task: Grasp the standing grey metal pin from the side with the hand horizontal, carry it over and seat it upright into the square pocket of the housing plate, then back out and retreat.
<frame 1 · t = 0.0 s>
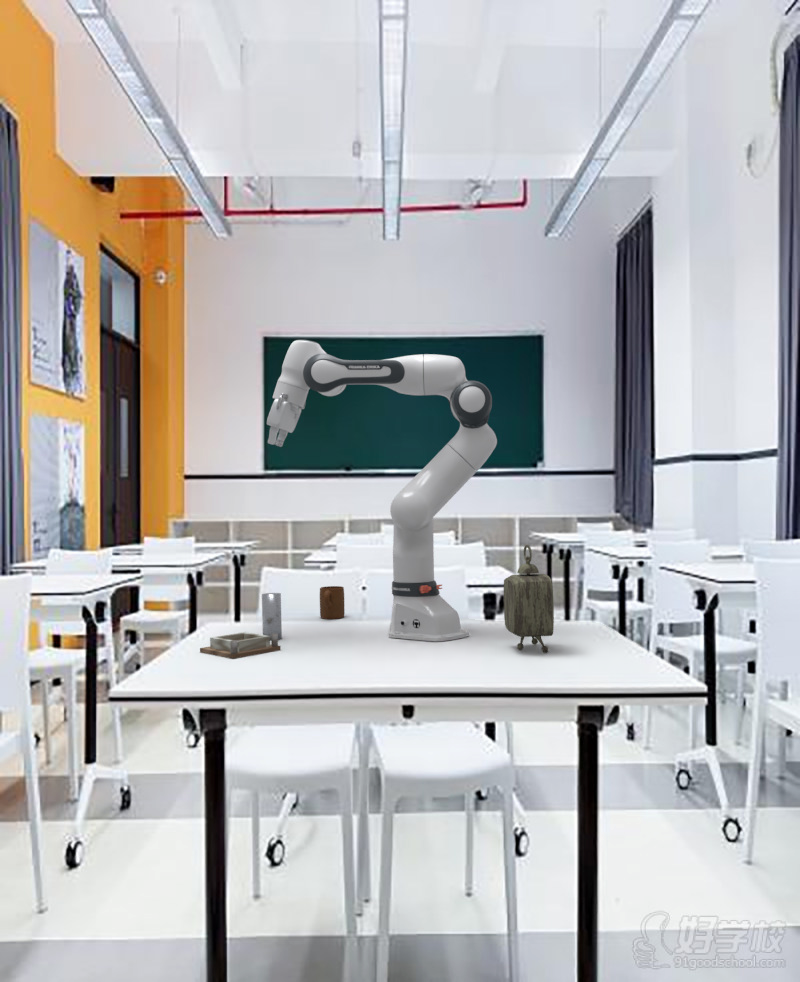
hand: (274, 445, 234), 52 cm above the table, tool tilted 20°, fingers open, 8 cm apart
mug: (330, 619, 263), on the table
pin: (272, 638, 228), on the table
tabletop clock: (528, 650, 204), on the table
housing: (240, 651, 211), on the table
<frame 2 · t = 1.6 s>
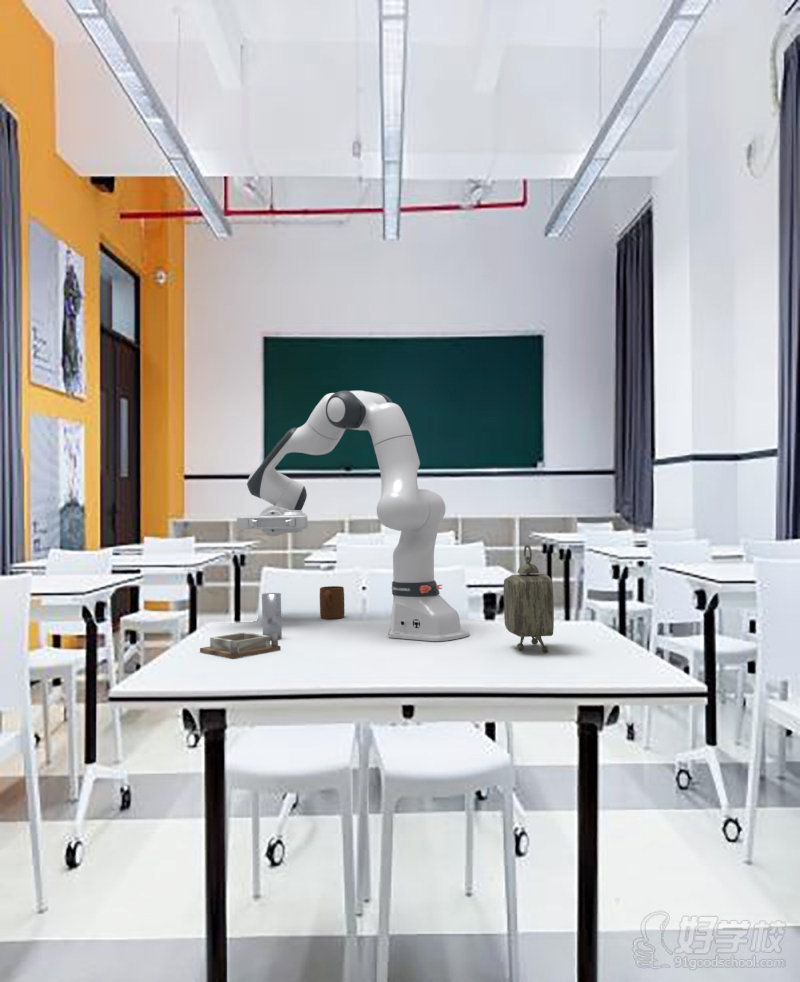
hand: (271, 523, 240), 30 cm above the table, tool horizontal, fingers open, 8 cm apart
nothing on the table moved.
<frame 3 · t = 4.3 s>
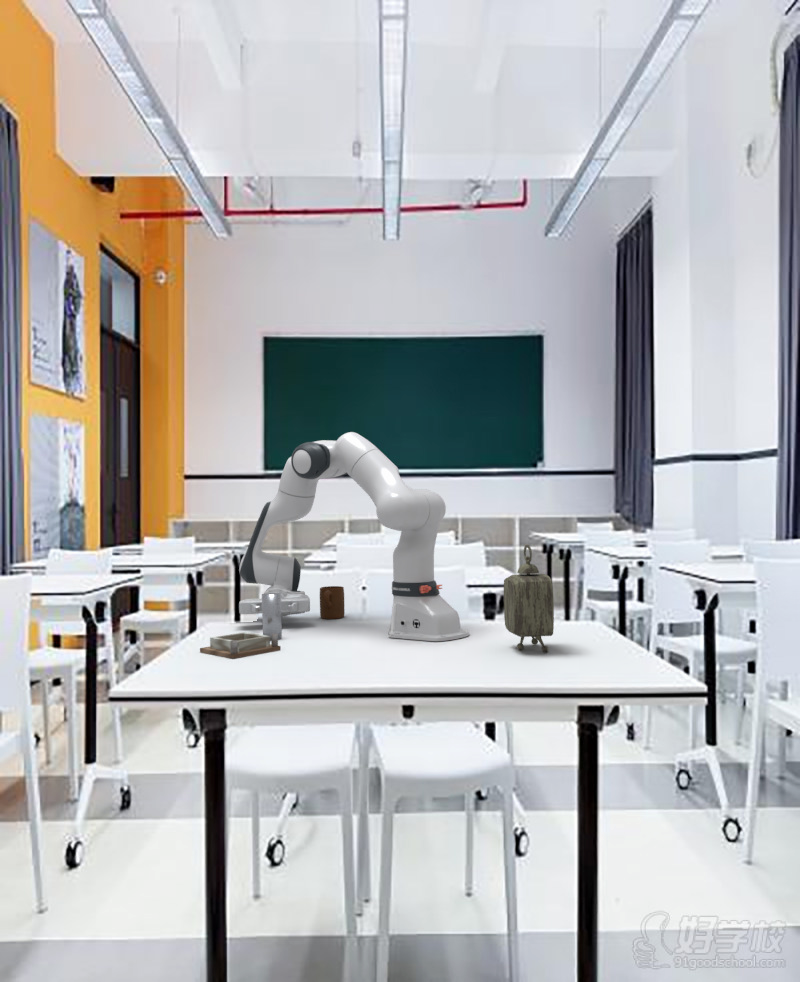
hand: (273, 608, 239), 6 cm above the table, tool horizontal, fingers open, 8 cm apart
nothing on the table moved.
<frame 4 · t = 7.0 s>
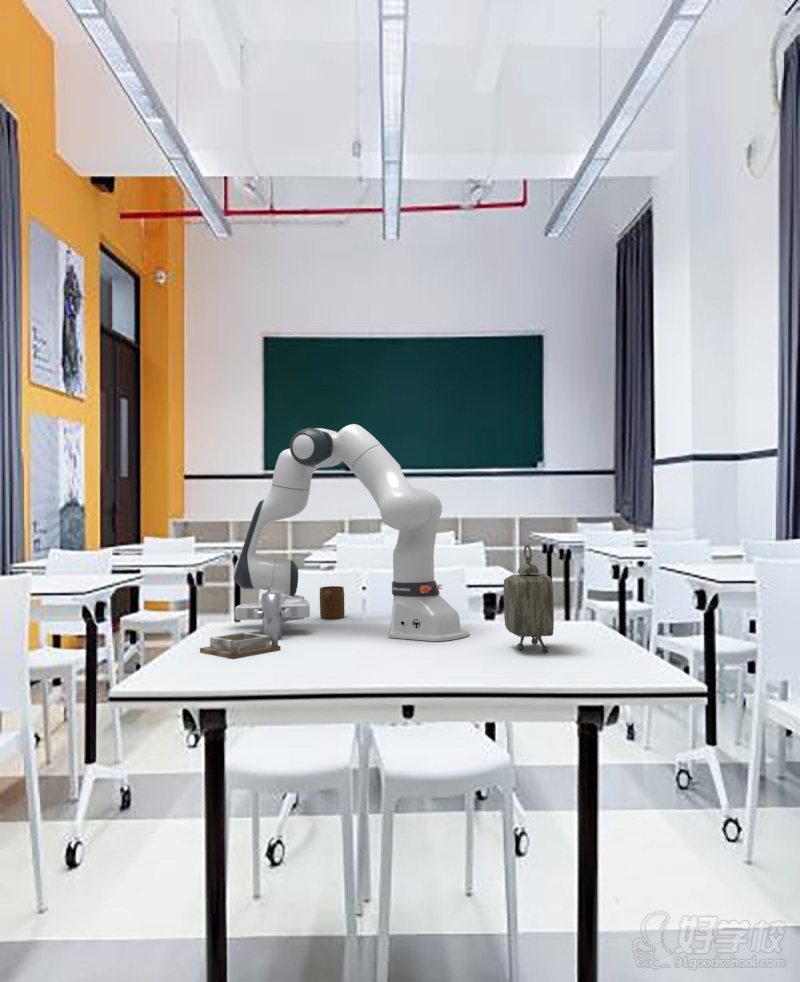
hand: (271, 614, 227), 7 cm above the table, tool horizontal, fingers closed on pin, 5 cm apart
pin: (272, 638, 228), on the table, touching gripper
everything else where it was.
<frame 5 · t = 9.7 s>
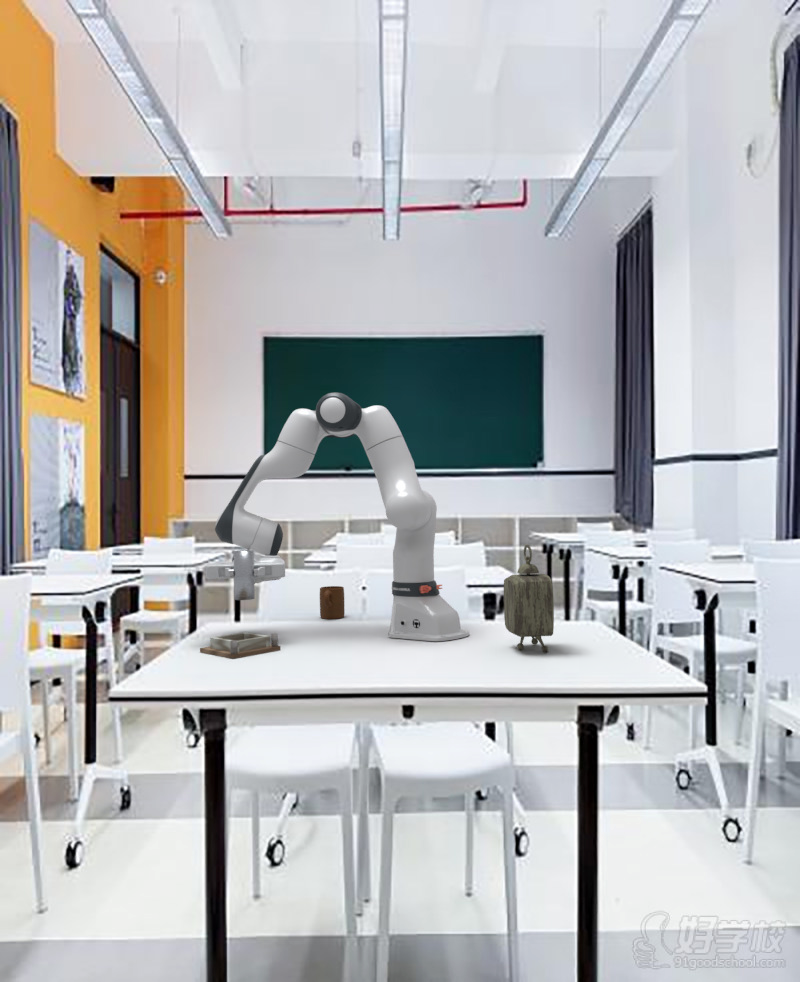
hand: (243, 573, 213), 19 cm above the table, tool horizontal, fingers closed on pin, 5 cm apart
pin: (244, 598, 214), point 12 cm above the table, touching gripper
everything else where it was.
when the fingers open (8 cm above the table, at t = 12.5 s): pin stays where it is, resting on housing.
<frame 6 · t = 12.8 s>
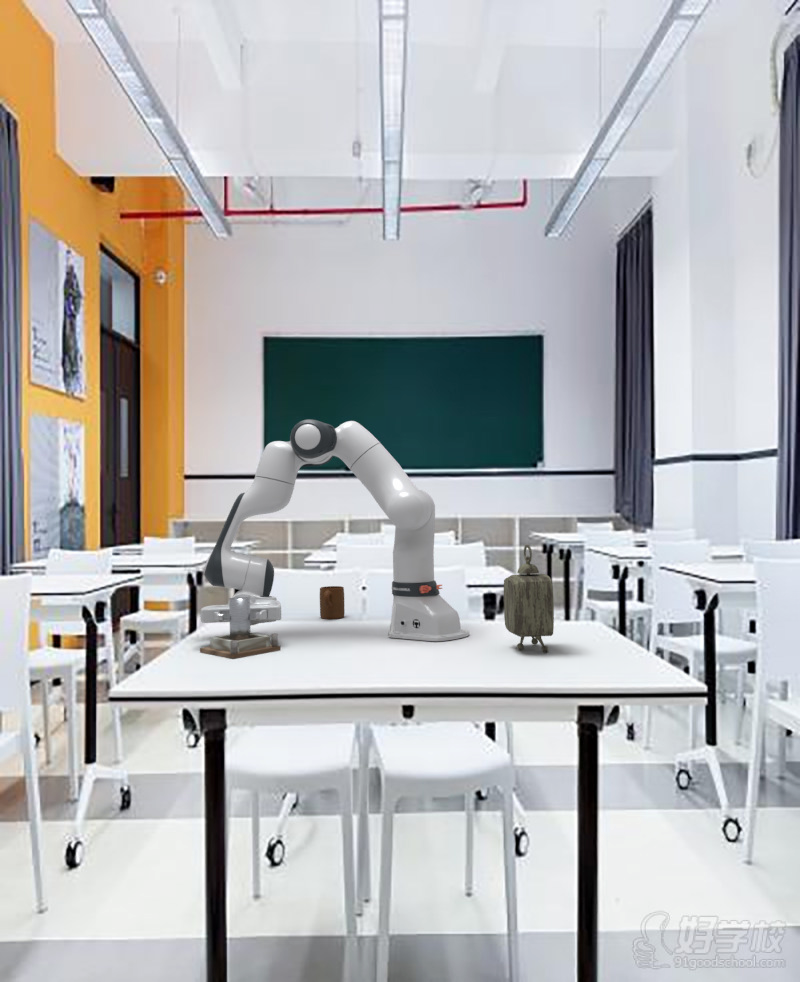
hand: (239, 617, 210), 8 cm above the table, tool horizontal, fingers open, 8 cm apart
pin: (240, 646, 211), point 1 cm above the table, touching housing
everything else where it was.
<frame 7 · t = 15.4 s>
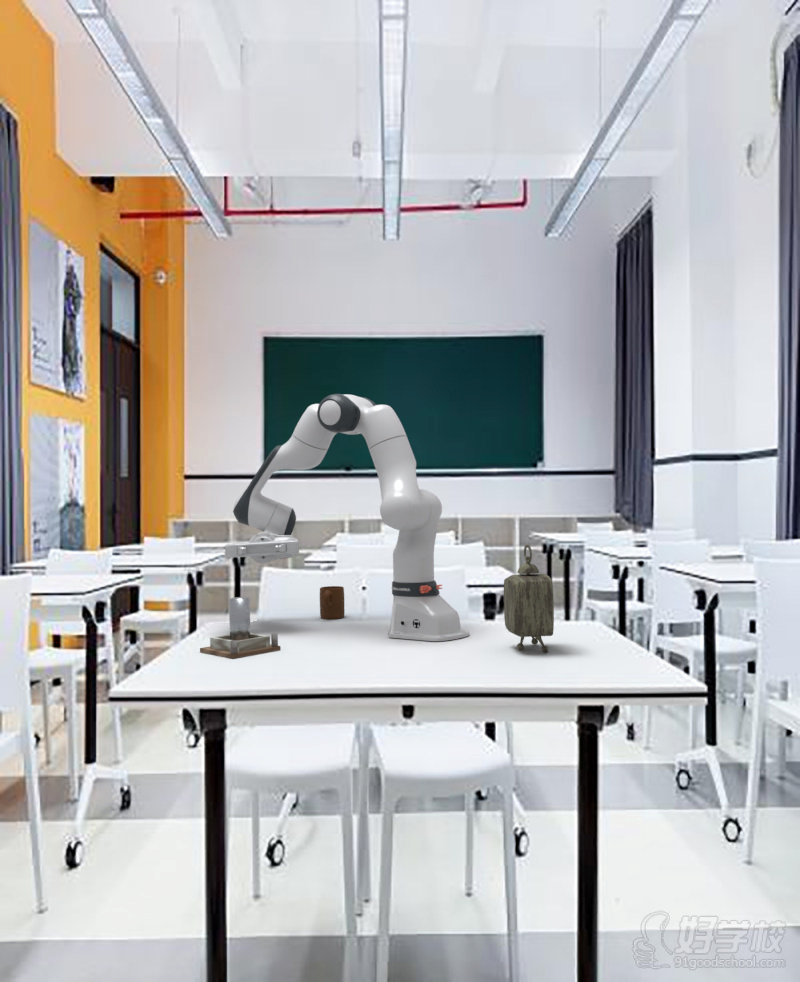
hand: (261, 549, 230), 24 cm above the table, tool horizontal, fingers open, 8 cm apart
nothing on the table moved.
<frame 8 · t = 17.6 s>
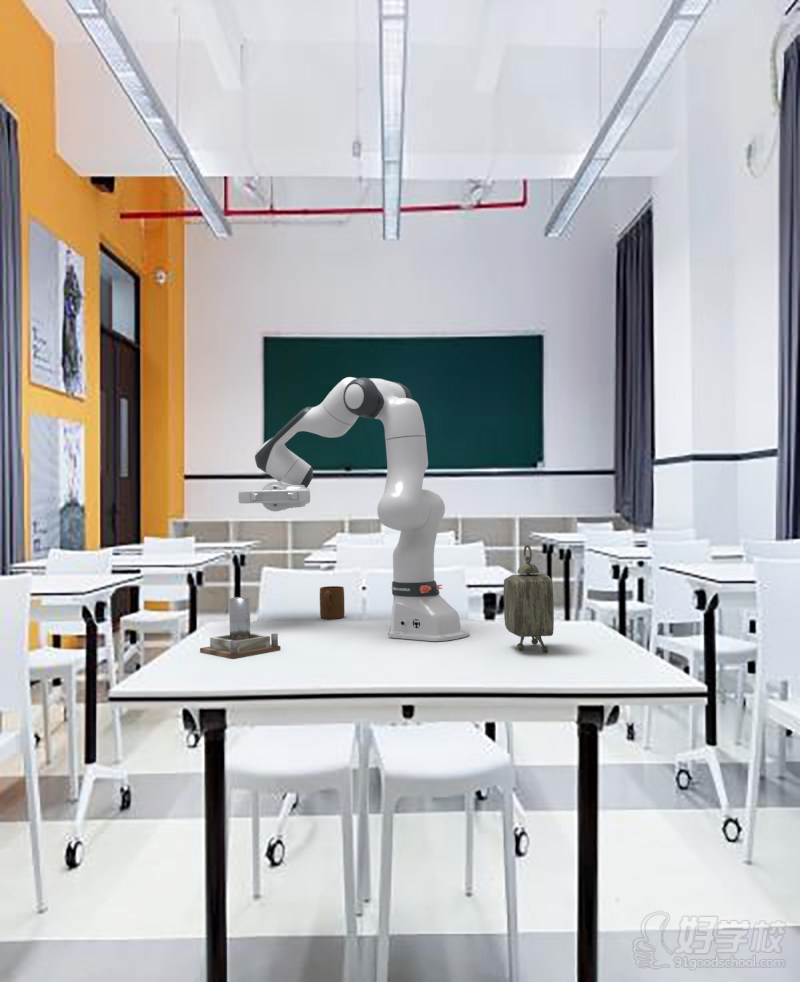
hand: (273, 496, 237), 38 cm above the table, tool horizontal, fingers open, 8 cm apart
nothing on the table moved.
at the end: pin inside the target area on the housing (0.1 cm from its centre), point 1.0 cm above the housing's base; pin tilted 0°; the gripper is holding nothing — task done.
